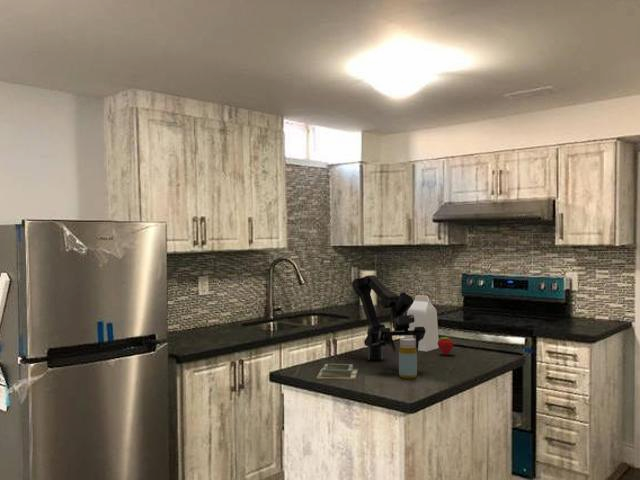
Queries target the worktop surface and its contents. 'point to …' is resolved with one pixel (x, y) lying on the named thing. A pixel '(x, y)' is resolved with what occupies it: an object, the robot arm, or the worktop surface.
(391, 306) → the robot arm
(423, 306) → the milk
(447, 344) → the strawberry
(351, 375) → the square rimmed tray
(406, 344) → the bottle
